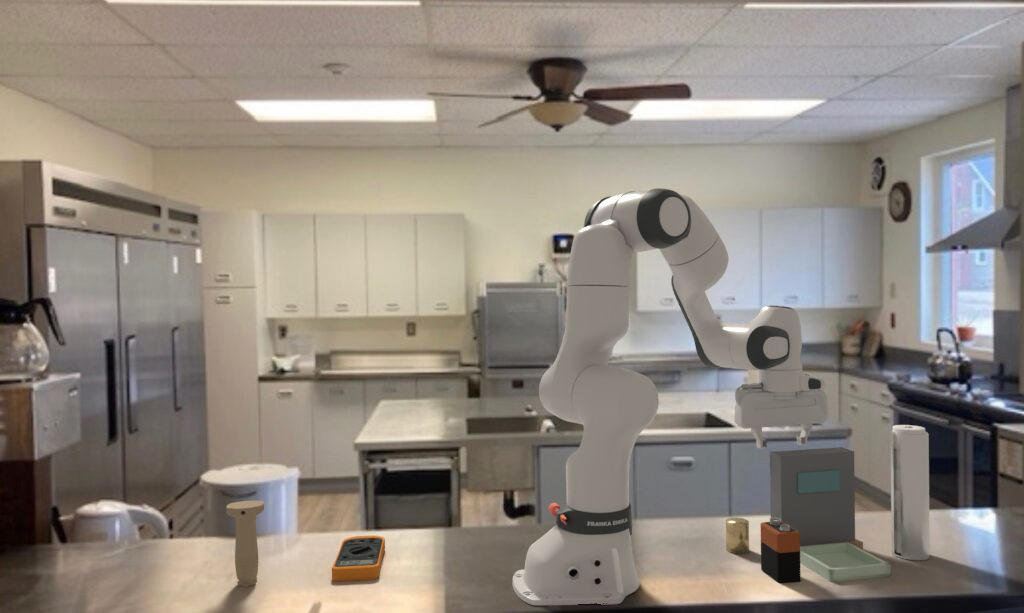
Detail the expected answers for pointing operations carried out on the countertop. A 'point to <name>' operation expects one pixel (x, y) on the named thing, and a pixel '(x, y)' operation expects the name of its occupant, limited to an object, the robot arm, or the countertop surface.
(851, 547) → the tray
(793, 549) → the battery
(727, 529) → the yellow translucent cylinder
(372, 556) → the multimeter
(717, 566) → the countertop surface
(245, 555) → the handle
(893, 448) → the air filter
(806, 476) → the control unit
